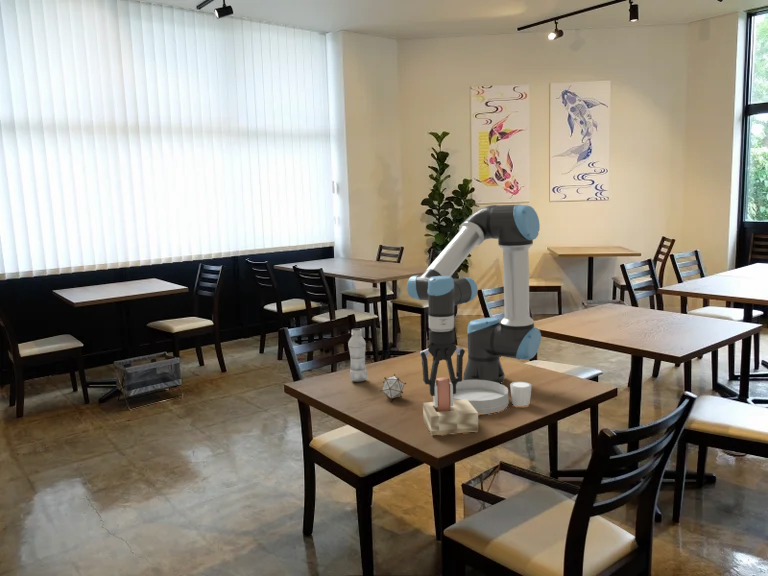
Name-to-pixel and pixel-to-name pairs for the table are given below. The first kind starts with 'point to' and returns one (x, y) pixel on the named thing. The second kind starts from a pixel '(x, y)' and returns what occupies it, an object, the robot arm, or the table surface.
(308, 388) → the table surface
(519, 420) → the table surface
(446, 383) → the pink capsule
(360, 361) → the plastic bottle
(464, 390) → the dish
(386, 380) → the game die
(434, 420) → the birch block
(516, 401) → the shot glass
